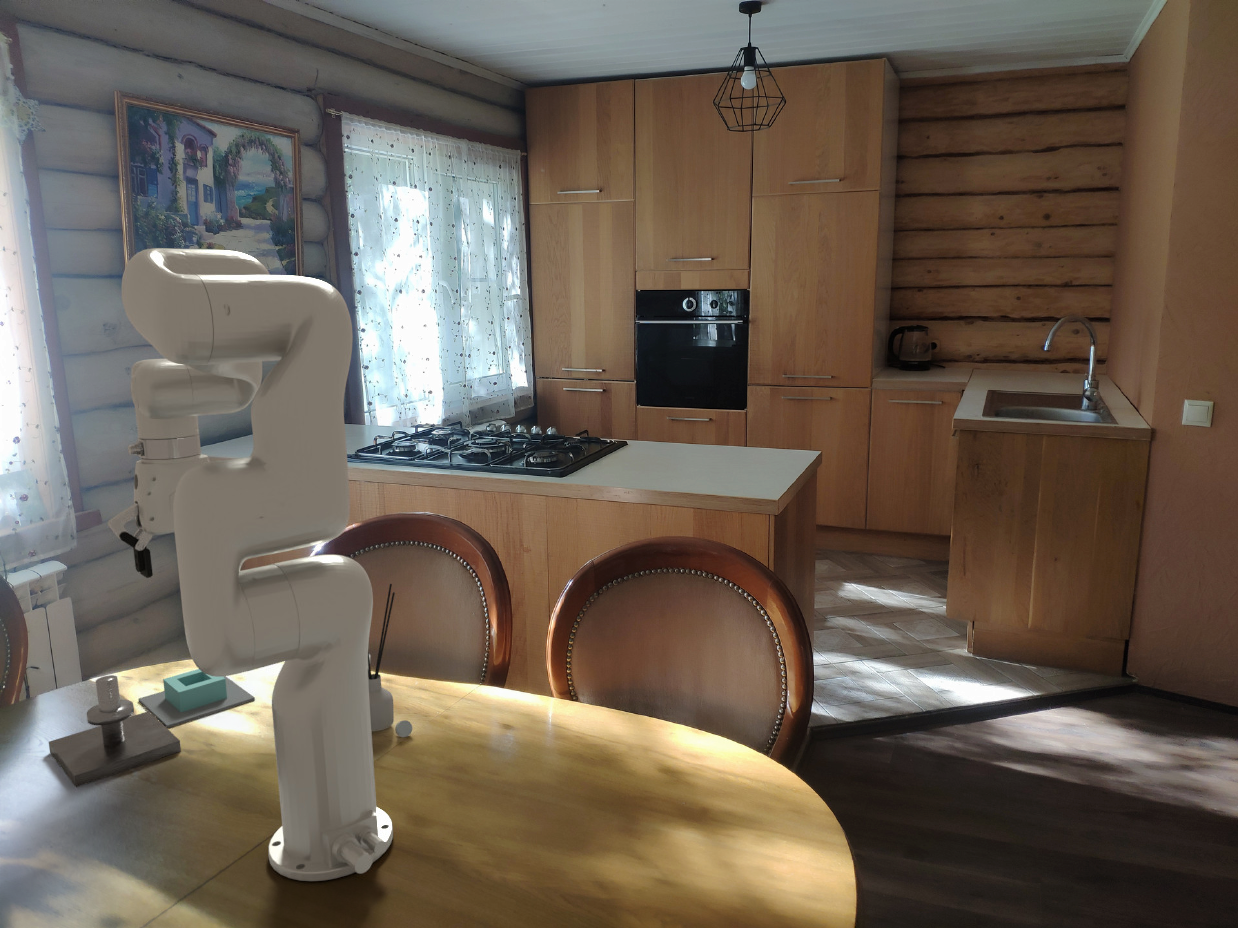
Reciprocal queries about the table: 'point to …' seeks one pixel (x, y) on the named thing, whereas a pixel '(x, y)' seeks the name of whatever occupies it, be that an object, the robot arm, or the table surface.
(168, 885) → the table surface
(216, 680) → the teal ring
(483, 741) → the table surface
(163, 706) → the slate mat
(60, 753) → the ring stand
